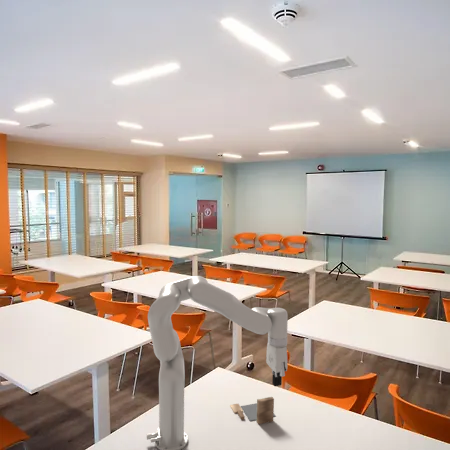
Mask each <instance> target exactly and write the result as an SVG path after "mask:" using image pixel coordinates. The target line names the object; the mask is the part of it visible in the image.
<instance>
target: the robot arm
mask: <svg viewBox="0 0 450 450" xmlns="http://www.w3.org/2000/svg"><path fill="white" fill-rule="evenodd" d="M187 300H191V301H192V302H195V303H197V304H198V305H201V306H203V307H205V308H207V309H208V310H209V309H210V310H212V311H214V312H216V313H218V314H220V315H222V316H223V317H225V318H226V319H228V320H230V321H231V322H233V323H234V324H236V325H238V326H240V327H242V328H244V329H245V330H247V331H250V332H252V333H254V334H257V335H263V336H264V335H266V334H267V344H266V356H265V359H266V360H265V362H266V364H267V366H268V367H269V368H270V369H271V374H272V385H273V386H274V387H279V386H282V378H283V377H285V376H286V373H285V372H287V371H288V349H287V346H288V317H289V315H288V311H287V310H286V309H285V308H282V307H272V308H271V307H261V306H255V307H252V308H250V307H249V306H247V305H245V304H244V303H242V302H241V301H240V300H239V299H238V297H236V296H234V294H232V293H230V292H228V291H226V290H224V289H222V288H219V287H218V286H215V285H213V284H211V283H209V282H208V279H206V278H205V277H203V276H202V275H194V276H190V277H187V278H183V279H179V280H177V281H173V282H170V283H169V282H168V283H167V284H165V285H164V286H163V287H162V288H161V290H160V291H159V294H158V297H157V298H156V299H155V300H154V301H153V303H151V304H150V307H149V309H148V312H147V322H148V327H149V331H150V337H151V342H152V345H153V346H152V347H153V353H154V355H155V357H156V358H157V359H158V360H159V364H160V366H159V367H160V368H159V373H158V405H159V407H158V411H159V412H158V414H159V415H158V423H159V424H158V428H157V431H154V432H152V433H147V434H146V440H150V444H151V443H154V445H155V447H156V448H157V449H158V450H182V449H184V448H185V447H186V446H187V444H188V440H189V435H188V434H187V432H185V382H186V381H185V380H186V379H185V377H186V375H185V359H184V354H183V350H182V347H181V346H182V345H181V341H180V337H179V334H178V332H177V331H176V330H175V329H174V326H173V323H172V322H173V321H172V316H173V314H174V313H175V312H176V311H177V310H178V309H179V307H180V306H181V303H182V302H184V301H187Z"/></svg>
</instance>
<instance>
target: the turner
mask: <svg viewBox="0 0 450 450" xmlns="http://www.w3.org/2000/svg"><path fill="white" fill-rule="evenodd" d="M229 407H230V409H231V410H232V412H233V413H234V414H237V415H238V417H239V418H240V420H241V421H242V420H245V419H246V418H245V416H246V415H244V413H243V412H244V411H243V409H242V408H241V406H240V404H239V403H234V404H230V405H229Z"/></svg>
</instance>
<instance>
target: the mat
mask: <svg viewBox="0 0 450 450" xmlns="http://www.w3.org/2000/svg"><path fill="white" fill-rule="evenodd" d="M240 407H241V409H242V410H243V412H244V413H243V414H245V416H246V418H247V419H248V420H249V422H253V421H256V420H257V402H256V403H251V404H244V405H241V406H240ZM274 417H276V414H275V413H274V415H273V418H274Z"/></svg>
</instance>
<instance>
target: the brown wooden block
mask: <svg viewBox="0 0 450 450" xmlns="http://www.w3.org/2000/svg"><path fill="white" fill-rule="evenodd" d="M256 403H257V420H255V421H256V423H257V424H258V425H262V424H268V423H271V422H272V423H273V422H274V417H273V415H274V414H275V410H274V409H275V408H274V407H275V398H274V397H273V396H268V397H262V398H257V399H256Z"/></svg>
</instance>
